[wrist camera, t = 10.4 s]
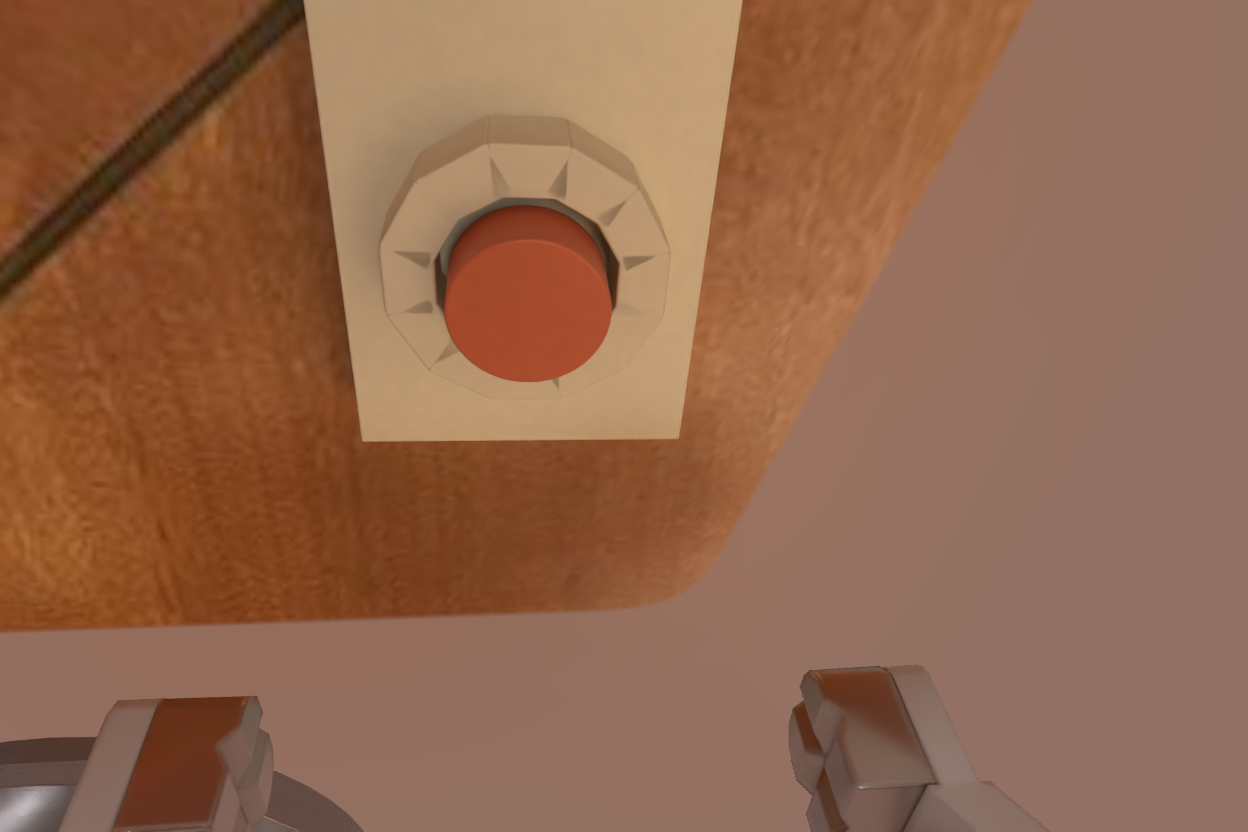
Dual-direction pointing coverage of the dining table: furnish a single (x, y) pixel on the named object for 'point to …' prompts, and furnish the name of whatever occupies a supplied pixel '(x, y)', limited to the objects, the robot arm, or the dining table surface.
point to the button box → (520, 193)
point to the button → (527, 294)
